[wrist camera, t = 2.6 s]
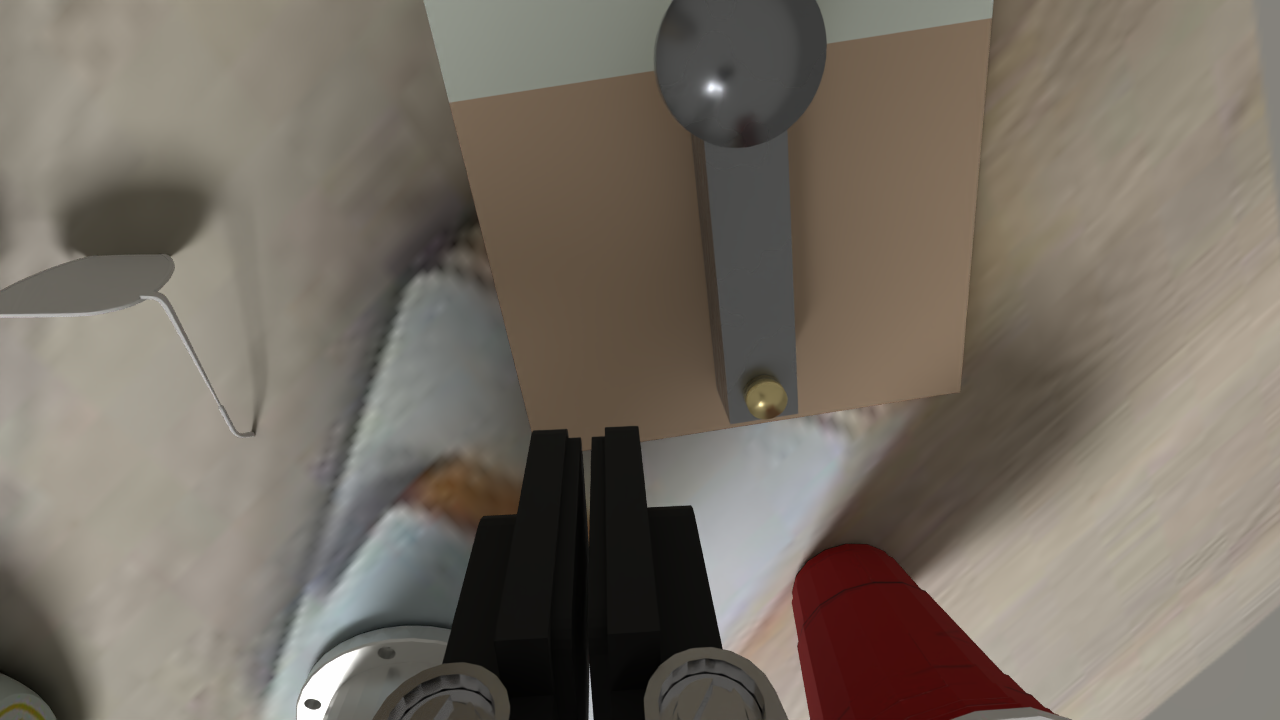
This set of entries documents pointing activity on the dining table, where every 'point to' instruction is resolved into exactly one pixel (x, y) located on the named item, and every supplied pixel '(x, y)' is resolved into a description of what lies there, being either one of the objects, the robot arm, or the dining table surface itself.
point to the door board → (669, 216)
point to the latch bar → (744, 177)
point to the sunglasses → (99, 294)
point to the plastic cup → (891, 648)
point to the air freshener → (21, 702)
